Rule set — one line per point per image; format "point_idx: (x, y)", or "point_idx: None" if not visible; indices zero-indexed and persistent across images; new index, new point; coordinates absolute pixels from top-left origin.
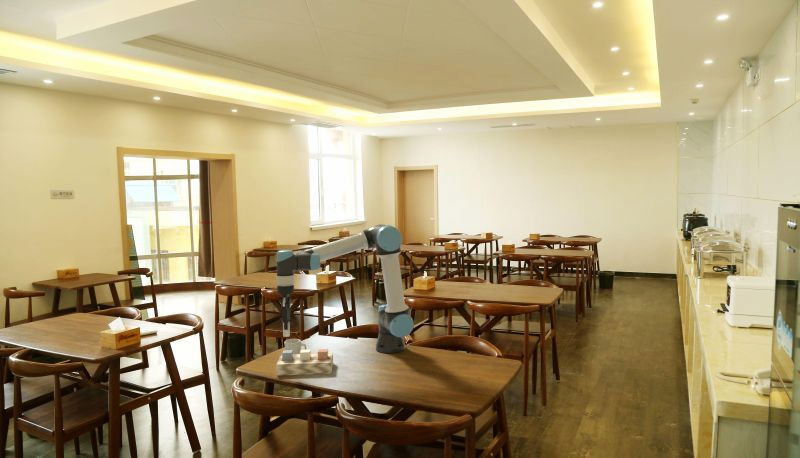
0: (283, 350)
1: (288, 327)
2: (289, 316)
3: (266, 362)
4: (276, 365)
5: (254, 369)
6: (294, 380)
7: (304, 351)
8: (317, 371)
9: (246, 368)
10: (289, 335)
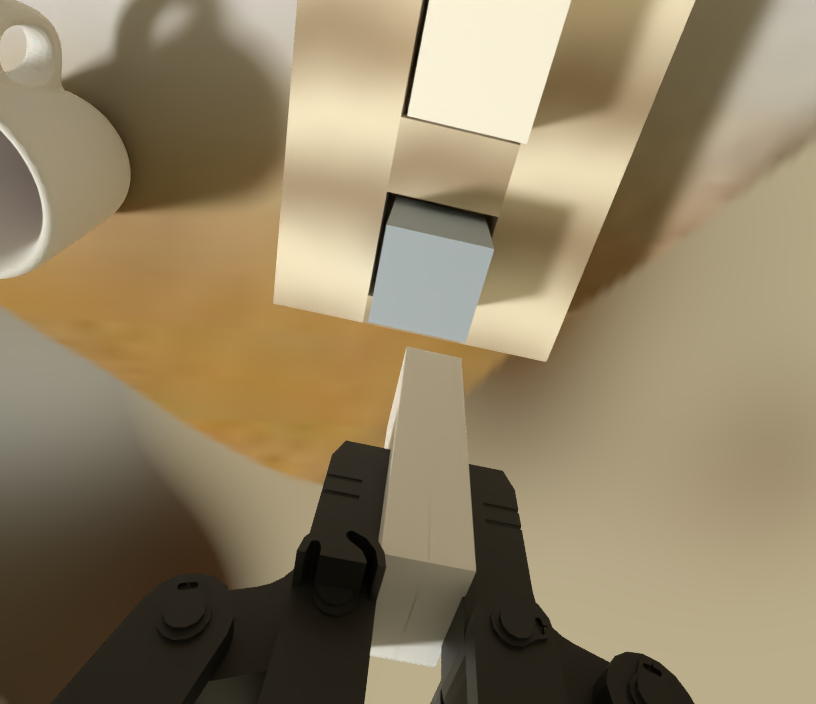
0: (372, 322)
1: (462, 475)
2: (205, 674)
3: (212, 363)
4: (544, 354)
5: (348, 434)
6: (717, 197)
7: (504, 74)
8: None
9: (316, 470)
10: (436, 358)
